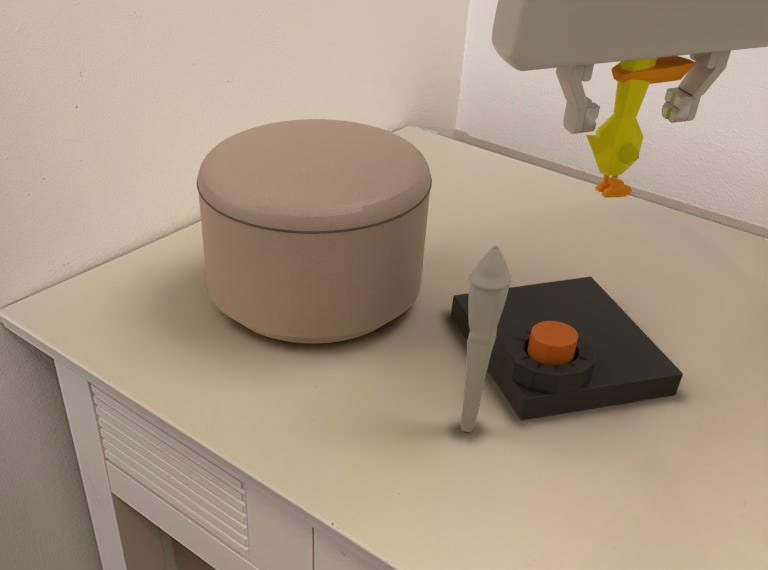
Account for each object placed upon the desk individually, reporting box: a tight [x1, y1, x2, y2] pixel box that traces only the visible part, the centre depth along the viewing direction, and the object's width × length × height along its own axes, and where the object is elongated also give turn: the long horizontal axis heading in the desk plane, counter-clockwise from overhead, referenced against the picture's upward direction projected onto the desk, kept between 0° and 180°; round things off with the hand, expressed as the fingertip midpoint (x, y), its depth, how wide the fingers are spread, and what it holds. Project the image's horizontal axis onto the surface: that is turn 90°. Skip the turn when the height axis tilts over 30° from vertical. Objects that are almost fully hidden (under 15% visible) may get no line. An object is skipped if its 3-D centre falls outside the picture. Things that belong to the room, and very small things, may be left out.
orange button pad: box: [450, 276, 684, 420], centre depth 67 cm, size 12×14×4 cm
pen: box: [460, 244, 513, 433], centre depth 57 cm, size 2×3×14 cm
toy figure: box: [585, 55, 696, 199], centre depth 59 cm, size 7×4×12 cm, turn 106°
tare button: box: [527, 321, 578, 365], centre depth 62 cm, size 3×3×2 cm
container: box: [196, 118, 433, 344], centre depth 71 cm, size 18×18×12 cm
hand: (628, 124), depth 59 cm, fingers closed on toy figure, 6 cm apart
